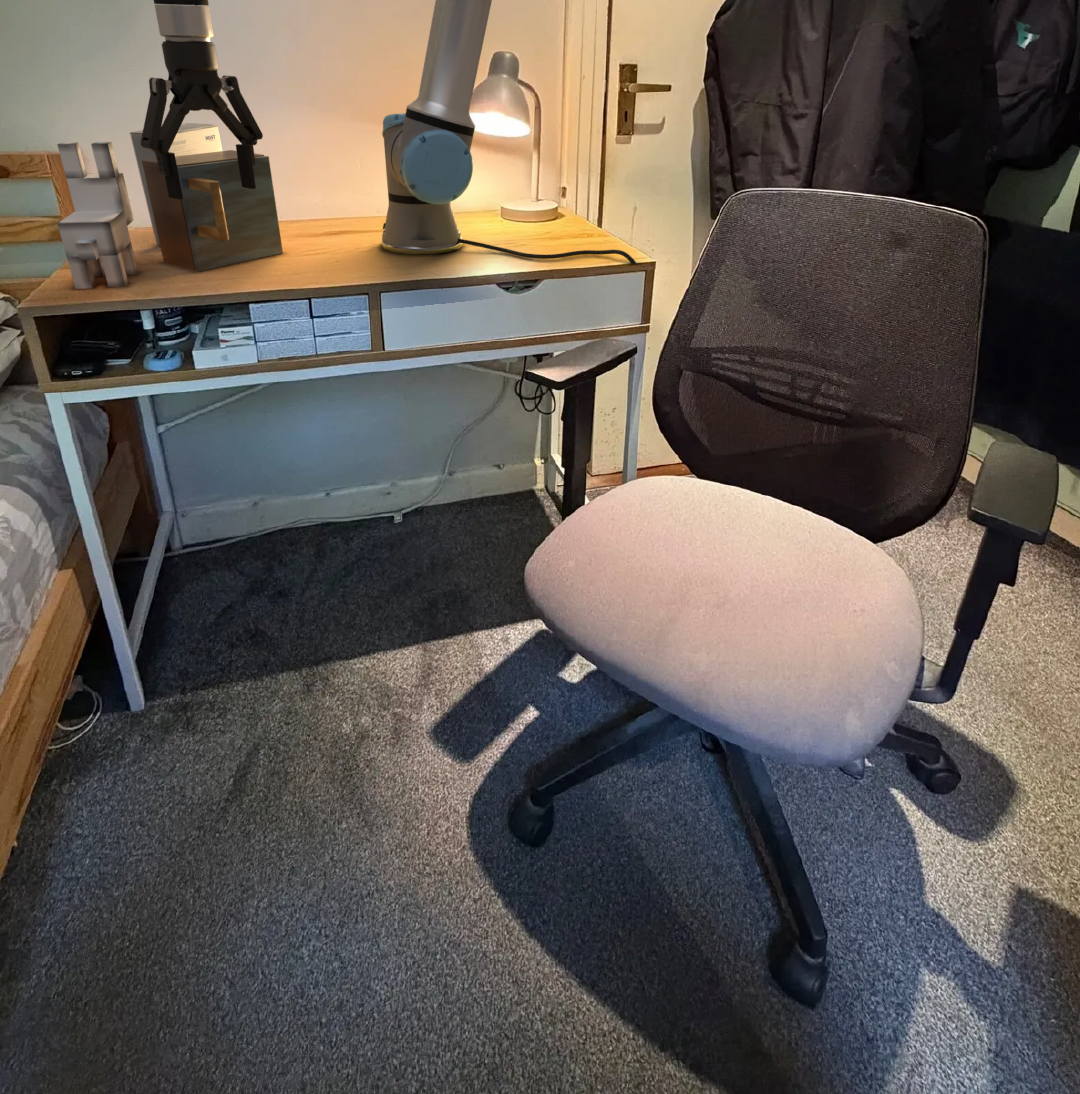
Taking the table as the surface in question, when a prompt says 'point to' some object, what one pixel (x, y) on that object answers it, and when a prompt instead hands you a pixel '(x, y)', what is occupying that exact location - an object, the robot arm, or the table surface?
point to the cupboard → (175, 207)
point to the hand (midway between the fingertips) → (213, 192)
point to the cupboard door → (229, 213)
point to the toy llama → (97, 218)
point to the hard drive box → (177, 151)
